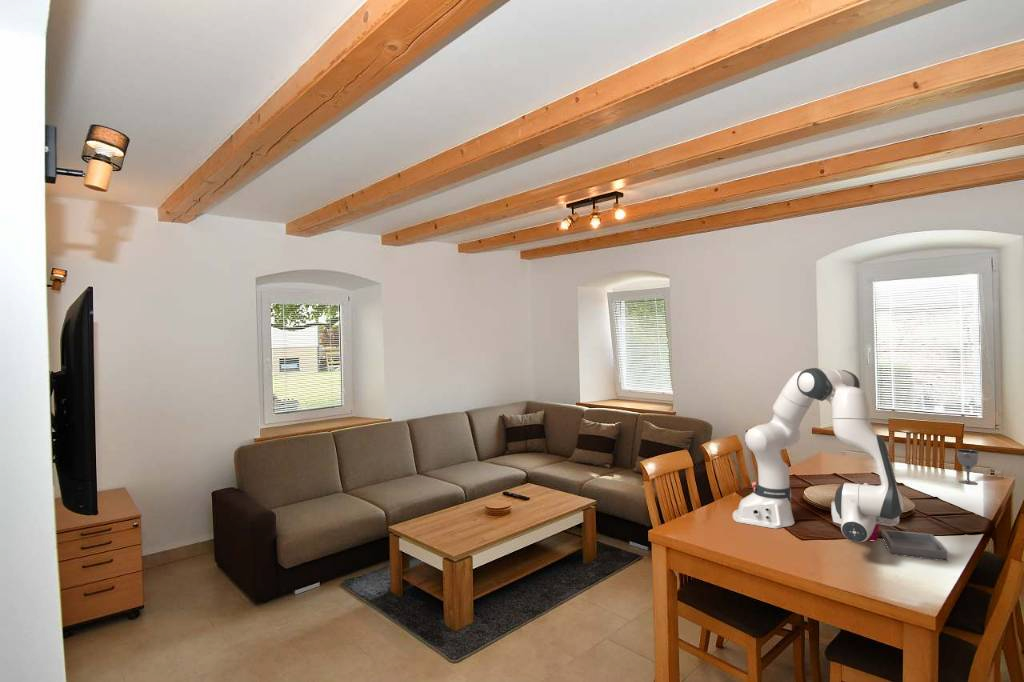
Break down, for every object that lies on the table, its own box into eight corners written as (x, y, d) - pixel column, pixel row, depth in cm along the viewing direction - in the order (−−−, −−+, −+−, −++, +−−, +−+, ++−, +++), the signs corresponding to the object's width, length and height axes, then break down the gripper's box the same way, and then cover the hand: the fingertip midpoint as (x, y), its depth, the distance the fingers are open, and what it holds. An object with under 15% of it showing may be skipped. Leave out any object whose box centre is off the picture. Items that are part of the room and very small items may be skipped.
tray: (891, 554, 182) (891, 545, 182) (881, 536, 197) (881, 529, 197) (947, 560, 176) (946, 552, 176) (932, 542, 191) (932, 534, 191)
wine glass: (964, 485, 253) (963, 453, 253) (953, 480, 261) (953, 449, 261) (983, 485, 252) (983, 453, 252) (972, 480, 260) (971, 449, 259)
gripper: (898, 514, 179) (901, 503, 190) (827, 503, 193) (834, 493, 203) (898, 533, 180) (902, 521, 190) (827, 521, 193) (834, 510, 203)
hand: (866, 506), depth 197 cm, fingers closed on pepper mill, 5 cm apart
